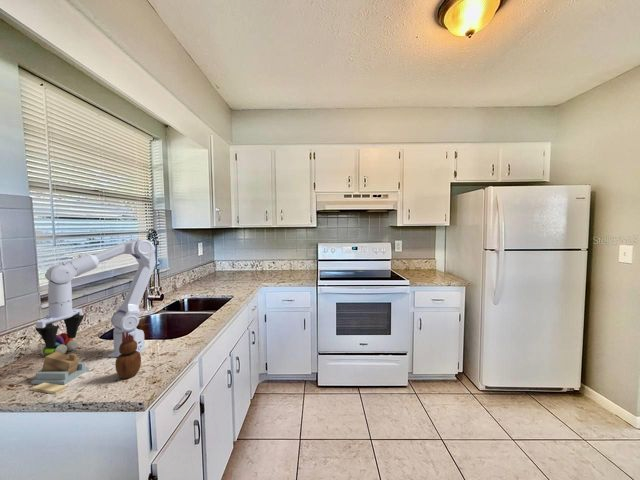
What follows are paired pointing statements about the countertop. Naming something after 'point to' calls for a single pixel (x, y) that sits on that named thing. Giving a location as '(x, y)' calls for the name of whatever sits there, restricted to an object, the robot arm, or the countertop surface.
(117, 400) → the countertop surface
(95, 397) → the countertop surface
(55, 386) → the plank
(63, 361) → the tan pegged block
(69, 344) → the rainbow segmented toy
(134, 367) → the wooden figurine
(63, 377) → the jig
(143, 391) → the countertop surface
